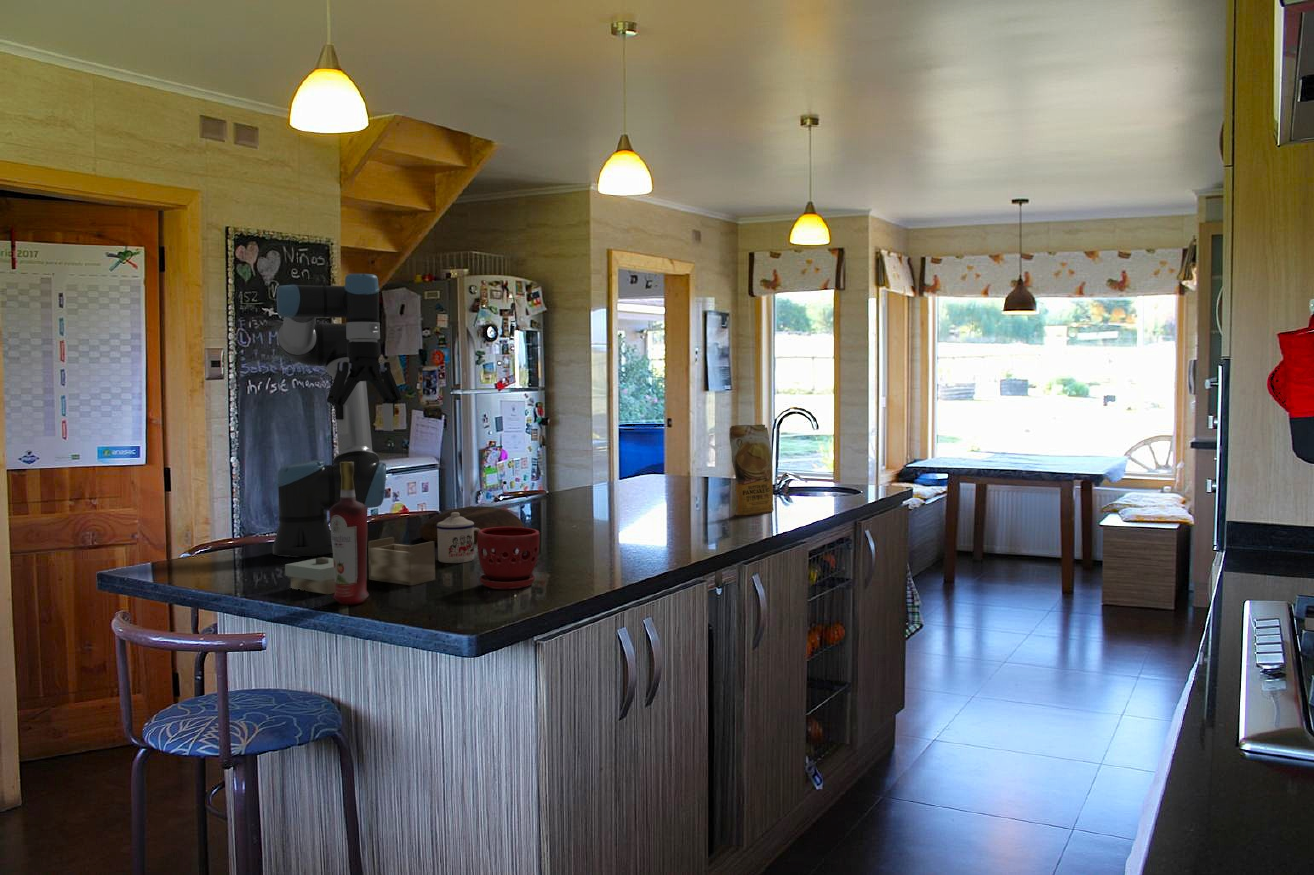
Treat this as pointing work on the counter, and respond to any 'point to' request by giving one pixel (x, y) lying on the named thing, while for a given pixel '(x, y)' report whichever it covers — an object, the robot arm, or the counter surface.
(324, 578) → the lid
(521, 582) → the plant pot
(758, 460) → the pancake mix bag
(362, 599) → the liquor
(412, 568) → the wooden box
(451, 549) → the teacup with lid
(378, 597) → the counter surface
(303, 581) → the stand
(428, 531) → the bread
